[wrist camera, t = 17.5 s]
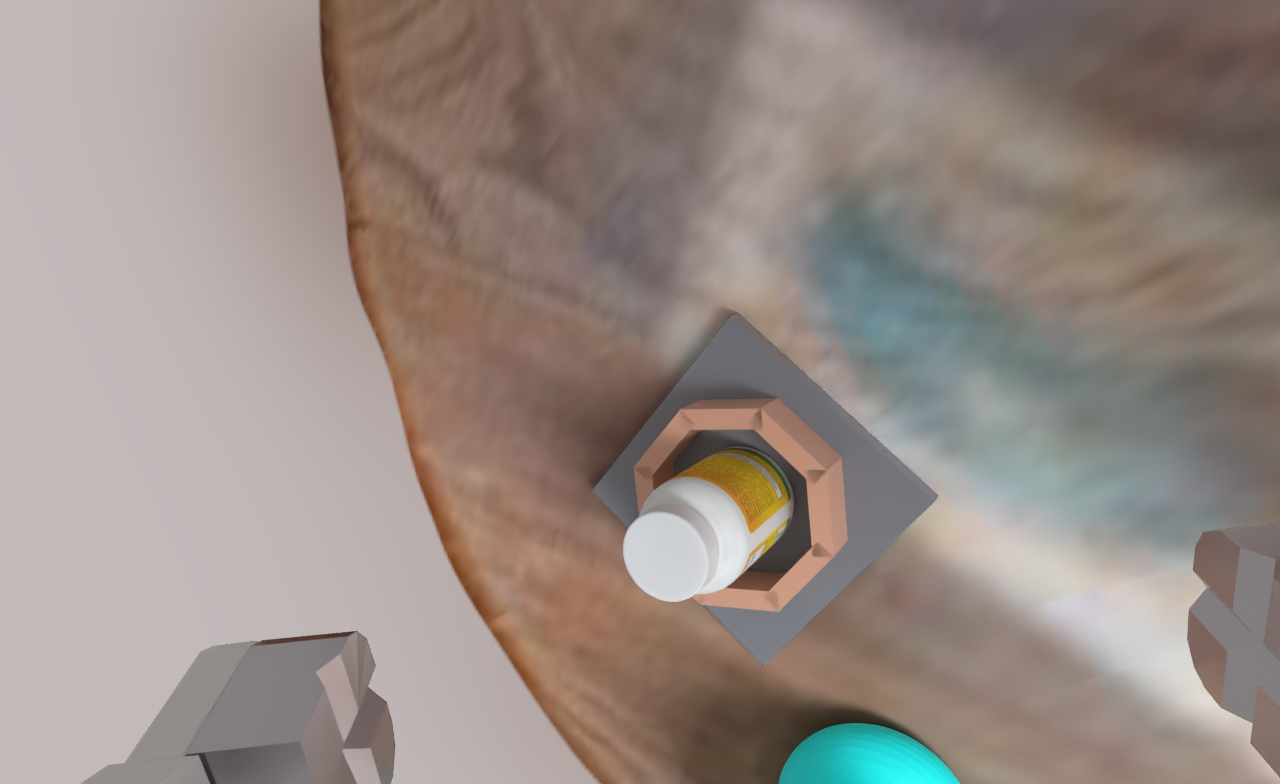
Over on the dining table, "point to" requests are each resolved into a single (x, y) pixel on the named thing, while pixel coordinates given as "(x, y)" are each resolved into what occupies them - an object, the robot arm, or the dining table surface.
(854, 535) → the collar holder
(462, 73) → the dining table surface
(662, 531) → the supplement bottle
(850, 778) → the donuts
